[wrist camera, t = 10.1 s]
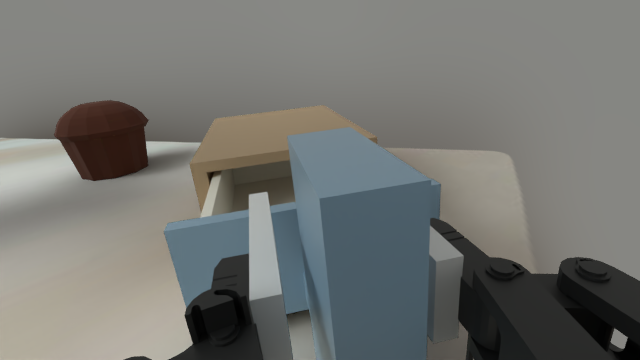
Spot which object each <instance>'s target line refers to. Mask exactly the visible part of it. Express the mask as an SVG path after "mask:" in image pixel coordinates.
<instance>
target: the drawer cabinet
mask: <svg viewBox="0 0 640 360" xmlns="http://www.w3.org/2000/svg"><path fill="white" fill-rule="evenodd" d="M347 127H351V128H353V129H354V130H356V131H357V132H359V133H360V134H362V135H363V136H365V137H366V138H368V139H369V140H371V141H372V142H374V143H376V144H377V137H376V136H374V135H372V134H371V133H369V132H368V131H366V130H364V129H362V128H361V127H359V126H357V125H356V124H354V123H352V122H351V121H349V120H347V119H346V118H344V117H342V116H340V115H339V114H337V113H336V112H334V111H332V110H331V109H329V108H327V107H325V106H324V105H321V106H313V107H305V108H297V109H289V110H282V111H273V112H265V113H258V114H250V115H242V116H233V117H225V118H216V119H215V121H214V122H213V124H212V126H211V127H210V129H209V131H208V132H207V134H206V136H205V138H204V139H203V141H202V143H201V145H200V146H199V148H198V150H197V152H196V153H195V155H194V157H193V159H192V161H191V162H190V168H191V172H192V176H193V180H194V184H195V188H196V192H197V197H198V201H199V205H200V209H201V213H202V209H203V206H204V203H205V200H206V197H207V193H208V190H209V187H210V184H211V180H212V177H213V174H214V171H219V170H226V169H233V168H240V167H246V166H253V165H260V164H267V163H273V162H280V161H287V160H290V155H289V147H288V140H287V136H288V135H296V134H303V133H310V132H318V131H325V130H332V129H340V128H347Z"/></svg>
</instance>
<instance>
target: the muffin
mask: <svg viewBox="0 0 640 360" xmlns="http://www.w3.org/2000/svg"><path fill="white" fill-rule="evenodd" d="M147 122H148V119H147V118H146V117H145V116H144V115H143V114H142V112H140V111H139V110H137V109H136V108H134V107H132V106H130V105H127V104H125V103H122V102H119V101H111V100H110V101H99V102H91V103H85V104H80V105H78V106H75V107H73V108H71V109H70V110H69V111H67V112H66V113H65V114H64V115H63V116H62V117H61V118H60V119H59V121H58V123H57V125H56V130H55V134H54V136H55V137H56V138H57V139H59V140H60V141H61V143H62V145H63V147H64V148H65V150H66V152H67V153H68V155H69V157H70V158H71V160H72V162H73V164H74V165H75V167H76V169H77V170H78V172H79V174H80V175H81V177H82V179H86V180H92V181H97V180H103V179H112V178H117V177H120V176H124V175H127V174H131V173H135V172H137V171H139V170H141V169H143V168H145V167H147V166H148V158H147V149H146V141H145V132H144V126H146V124H147Z"/></svg>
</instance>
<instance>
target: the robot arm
mask: <svg viewBox="0 0 640 360" xmlns="http://www.w3.org/2000/svg"><path fill="white" fill-rule="evenodd" d="M212 280H213V282H212V285H211V289H209V290H207V291H205V292H203V293H201V294H200V295H198V296H197V297H196V298H194V299H193V300H192V301H191V303H190V304H189V305H188V307H187V308H186V312H185V319H186V322H187V325H188V329H189V332H190V335H191V339H192V342H193V345H192V346H190V347H189V348H188V349H187V350H185V351H184V352H182V353H180V354H179V355H177V356H175V357H173V358H171V359H169V360H293V355H292V348H291V342H290V335H289V328H288V322H287V315H286V308H285V302H284V295H283V288H282V282H281V275H280V268H279V262H278V255H277V248H276V242H275V236H274V230H273V223H272V217H271V211H270V205H269V199H268V193H267V192H262V193H256V194H249V253H248V254H243V255H238V256H232V257H227V258H222V259H221V261H220V262H219V263H218V264H217V266H216V267H215V268H214V273H213V279H212ZM459 321H460V323H461V324H462V325H463V326H464V328H465V329H466V330H467V331H468V343H467V355H466V360H473V358H474V360H640V281H638V280H637V279H635V278H633V277H631V276H629V275H627V274H626V273H624V272H622V271H620V270H618V269H616V268H614V267H612V266H610V265H608V264H605V263H603V262H600V261H597V260H593V259H590V258H579V257H576V258H567V259H565V260H563V261H562V262H561V264H560V267H559V273H558V274H531V273H530V272H529V271H528V270H527V269H525V268H524V267H523V266H521V265H520V264H518V263H516V262H513V261H511V260H507V259H503V258H492V257H488V256H487V255H486V254H485V253H483V252H482V251H481V250H480V249H479V248H477V247H476V246H475V245H474V244H472V243H471V242H470V241H469V240H468V239H466V238H464V236H463V235H461V234H460V233H459V232H457V231H456V230H455V229H454V228H453V227H452V226H450V225H449V224H448V223H446V222H444V221H441V220H439V219H436V218H430V243H429V279H428V316H427V335H428V336H429V338H430V340H431V341H432V343H433V344H434V343H438V342H442V341H446V340H450V339H454V338H458V330H459ZM614 328H615V329H617V330H618V331H620V332H621V333H623V334H624V335H625V336H627V337H628V339H627V342H626V346H625V348H624V349H620V348H618V347H617V346H615V345H613V344H612V343H611V342H610V341H611V338H612V334H613V331H614ZM124 360H151V359H149V358H147V357H144V356H140V357H131V358H127V359H124Z"/></svg>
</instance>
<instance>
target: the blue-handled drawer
mask: <svg viewBox="0 0 640 360" xmlns="http://www.w3.org/2000/svg"><path fill="white" fill-rule="evenodd" d="M287 140H288V147H289V155H290V160H287V161H280V162H273V163H267V164H260V165H253V166H246V167H240V168H233V169H226V170H219V171H214V174H213V177H212V180H211V184H210V187H209V190H208V193H207V197H206V200H205V203H204V206H203V209H202V213H201V216H200V218H195V219H189V220H184V221H178V222H172V223H168V224H167V226H166V228H165V230H164V234H165V237H166V240H167V244H168V247H169V251H170V254H171V257H172V261H173V264H174V267H175V271H176V274H177V278H178V281H179V284H180V288H181V291H182V295H183V298H184V301H185V305H186V308H187V307H188V305H189V304H190V303H191V301H192V300H193V299H194V298H196V297H197V296H198V295H200V294H201V293H203V292H205V291H207V290H209V289H211V285H212V282H213V280H212V279H213V273H214V268H215V267H216V266H217V264H218V263H219V262H220V261H221V259H222V258H227V257H232V256H238V255H243V254H248V253H249V194H256V193H262V192H267V193H268V199H269V205H270V211H271V217H272V223H273V230H274V236H275V242H276V248H277V255H278V262H279V268H280V275H281V282H282V288H283V295H284V302H285V308H286V314H289V313H294V312H299V311H303V310H308V309H309V313H310V317H311V324H312V331H313V339H314V347H315V354H316V360H426V352H427V316H428V279H429V243H430V218H436V219H439V215H440V189H441V184H440V183H438V182H437V181H435V180H434V179H429V178H428V177H426V176H425V175H423V174H422V173H420V172H419V171H417V170H415V169H414V168H412V167H411V166H409V165H408V164H406V163H405V162H403V161H402V160H400V159H399V158H397V157H396V156H394V155H392V154H391V153H389V152H388V151H386V150H385V149H383V148H382V147H380V146H379V145H377V144H376V143H374V142H372V141H371V140H369V139H368V138H366V137H365V136H363V135H362V134H360V133H359V132H357V131H356V130H354V129H353V128H351V127H347V128H340V129H332V130H325V131H318V132H310V133H303V134H296V135H288V136H287Z"/></svg>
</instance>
